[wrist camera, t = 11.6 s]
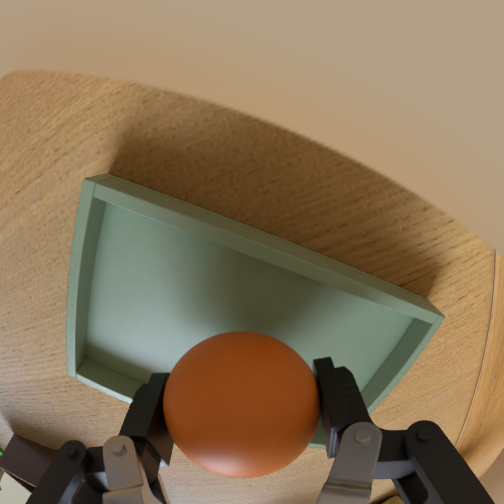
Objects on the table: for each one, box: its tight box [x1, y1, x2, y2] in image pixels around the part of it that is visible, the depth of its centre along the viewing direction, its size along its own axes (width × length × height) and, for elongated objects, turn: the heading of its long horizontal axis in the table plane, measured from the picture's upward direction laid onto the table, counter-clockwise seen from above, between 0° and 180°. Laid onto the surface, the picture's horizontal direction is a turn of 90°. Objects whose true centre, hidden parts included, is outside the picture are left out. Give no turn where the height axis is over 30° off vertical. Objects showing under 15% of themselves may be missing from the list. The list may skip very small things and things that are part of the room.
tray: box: [66, 173, 445, 449], centre depth 13 cm, size 17×11×2 cm, turn 68°
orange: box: [163, 331, 321, 478], centre depth 10 cm, size 6×6×6 cm
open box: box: [0, 435, 83, 502], centre depth 20 cm, size 14×14×6 cm
